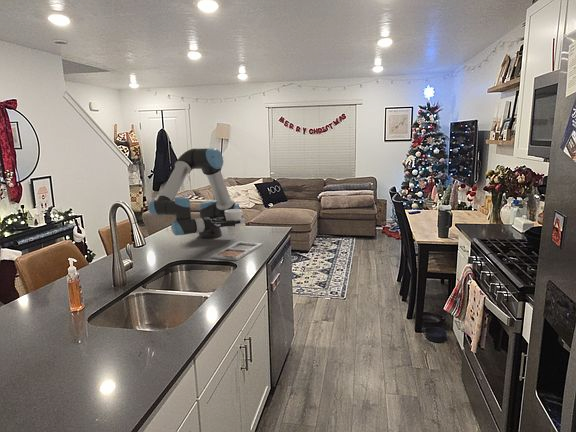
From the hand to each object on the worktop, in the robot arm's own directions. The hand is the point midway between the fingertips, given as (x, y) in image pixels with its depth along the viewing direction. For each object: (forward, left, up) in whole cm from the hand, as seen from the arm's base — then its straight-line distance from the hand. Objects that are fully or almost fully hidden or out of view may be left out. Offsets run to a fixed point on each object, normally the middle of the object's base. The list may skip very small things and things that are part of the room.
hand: (241, 219), depth 215 cm
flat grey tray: (+1, -3, -19) cm, 19 cm away
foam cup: (+4, -3, -8) cm, 9 cm away
